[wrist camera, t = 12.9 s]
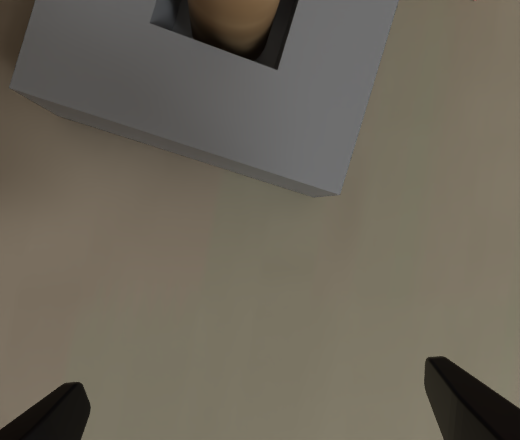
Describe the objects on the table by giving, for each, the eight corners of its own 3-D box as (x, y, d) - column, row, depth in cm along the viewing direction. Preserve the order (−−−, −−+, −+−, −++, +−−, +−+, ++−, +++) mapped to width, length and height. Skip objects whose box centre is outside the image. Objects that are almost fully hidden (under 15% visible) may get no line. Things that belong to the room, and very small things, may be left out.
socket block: (313, 197, 19) (339, 195, 15) (57, 115, 17) (9, 87, 13) (385, -41, 19) (431, -107, 15) (137, -150, 17) (113, -259, 13)
